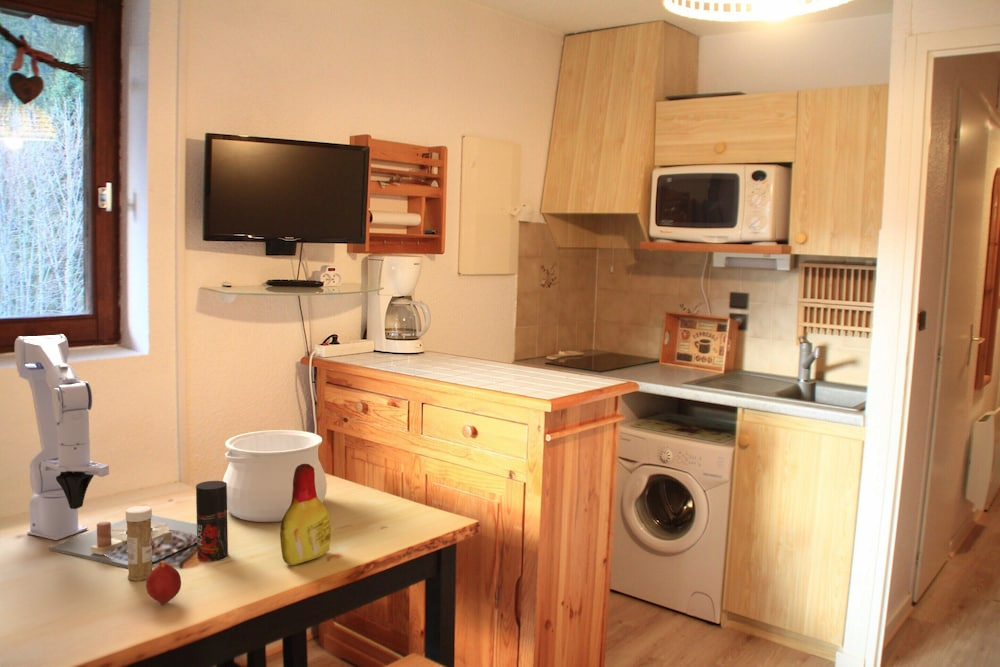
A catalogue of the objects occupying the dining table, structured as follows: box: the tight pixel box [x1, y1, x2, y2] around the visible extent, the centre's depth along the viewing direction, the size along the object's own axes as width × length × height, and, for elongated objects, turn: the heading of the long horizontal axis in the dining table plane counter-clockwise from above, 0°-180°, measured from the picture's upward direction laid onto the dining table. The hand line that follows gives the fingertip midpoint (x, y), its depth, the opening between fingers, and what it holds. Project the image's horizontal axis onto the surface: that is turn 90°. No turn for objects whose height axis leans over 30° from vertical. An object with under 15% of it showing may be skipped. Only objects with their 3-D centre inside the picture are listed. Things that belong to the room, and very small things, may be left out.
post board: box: [49, 514, 197, 569], centre depth 179 cm, size 24×24×5 cm
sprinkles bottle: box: [125, 505, 154, 582], centre depth 160 cm, size 5×5×13 cm
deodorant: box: [195, 480, 229, 563], centre depth 170 cm, size 6×6×15 cm
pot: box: [222, 429, 328, 523], centre depth 201 cm, size 26×24×17 cm
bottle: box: [279, 464, 332, 566], centre depth 169 cm, size 12×6×20 cm, turn 143°
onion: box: [145, 560, 182, 605], centre depth 148 cm, size 6×6×8 cm
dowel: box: [163, 531, 172, 543], centre depth 175 cm, size 2×2×3 cm
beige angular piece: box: [91, 521, 169, 555], centre depth 176 cm, size 17×12×6 cm
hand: (76, 507), depth 171 cm, fingers closed
